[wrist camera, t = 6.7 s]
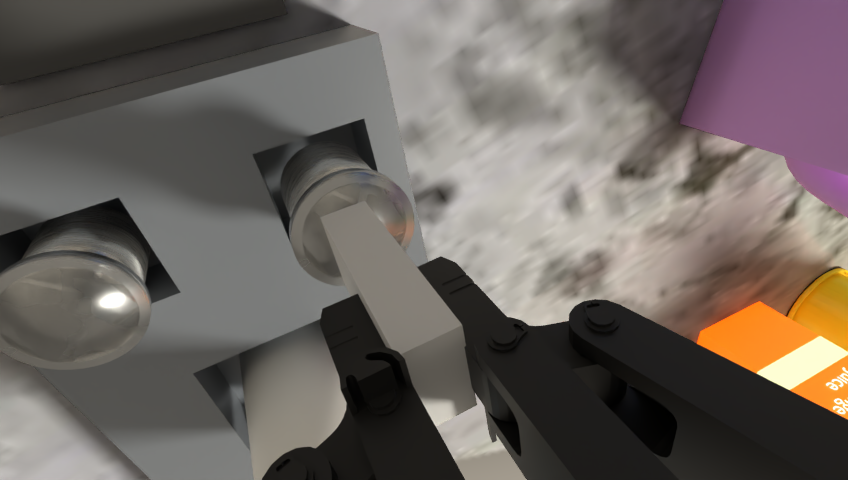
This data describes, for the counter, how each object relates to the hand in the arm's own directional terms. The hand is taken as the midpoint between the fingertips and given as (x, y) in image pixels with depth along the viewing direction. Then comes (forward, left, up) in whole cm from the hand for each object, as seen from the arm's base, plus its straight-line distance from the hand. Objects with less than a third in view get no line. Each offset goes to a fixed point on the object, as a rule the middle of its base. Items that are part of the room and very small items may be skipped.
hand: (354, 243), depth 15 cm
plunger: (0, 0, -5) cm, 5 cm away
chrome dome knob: (0, -9, -6) cm, 11 cm away
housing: (+6, -4, -8) cm, 11 cm away
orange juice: (+35, +36, -8) cm, 51 cm away
